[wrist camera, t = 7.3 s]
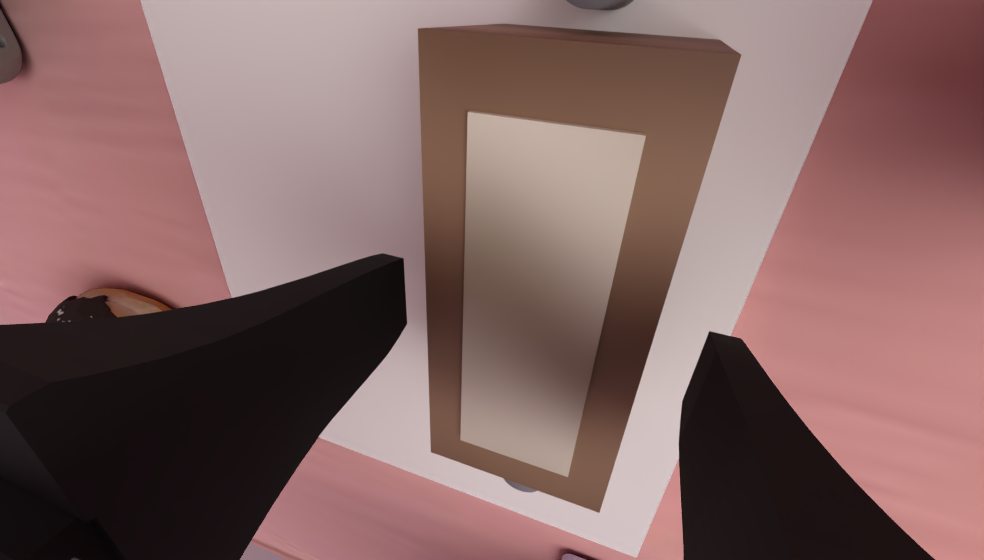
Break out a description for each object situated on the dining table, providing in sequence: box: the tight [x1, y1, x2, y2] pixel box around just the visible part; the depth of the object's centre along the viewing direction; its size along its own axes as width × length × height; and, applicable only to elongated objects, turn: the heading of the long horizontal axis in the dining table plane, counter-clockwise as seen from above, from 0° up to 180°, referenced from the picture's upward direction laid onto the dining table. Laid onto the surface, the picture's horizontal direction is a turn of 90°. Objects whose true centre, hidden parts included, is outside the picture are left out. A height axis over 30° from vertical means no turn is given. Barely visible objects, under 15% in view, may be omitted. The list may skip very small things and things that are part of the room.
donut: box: [45, 288, 172, 323], centre depth 26 cm, size 11×12×4 cm
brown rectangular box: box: [418, 24, 741, 513], centre depth 12 cm, size 11×5×5 cm, turn 177°
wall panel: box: [140, 0, 873, 558], centre depth 16 cm, size 22×20×4 cm
